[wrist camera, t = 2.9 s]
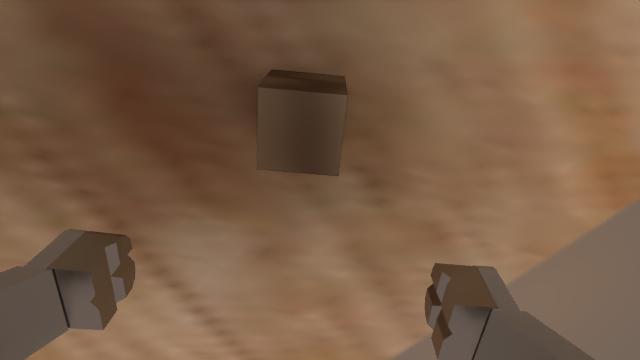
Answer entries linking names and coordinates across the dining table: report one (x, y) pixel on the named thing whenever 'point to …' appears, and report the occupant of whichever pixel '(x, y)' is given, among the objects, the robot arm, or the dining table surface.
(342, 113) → the walnut block
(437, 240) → the dining table surface
